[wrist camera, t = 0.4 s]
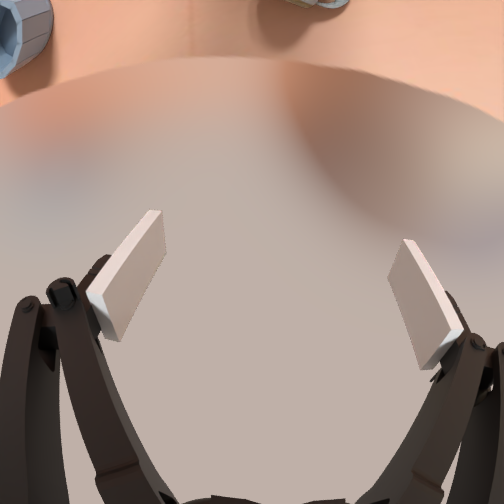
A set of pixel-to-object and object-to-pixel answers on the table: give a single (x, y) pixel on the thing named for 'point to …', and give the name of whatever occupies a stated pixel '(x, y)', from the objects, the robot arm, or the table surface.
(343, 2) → the ceramic mug
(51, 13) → the bowl
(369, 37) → the table surface
